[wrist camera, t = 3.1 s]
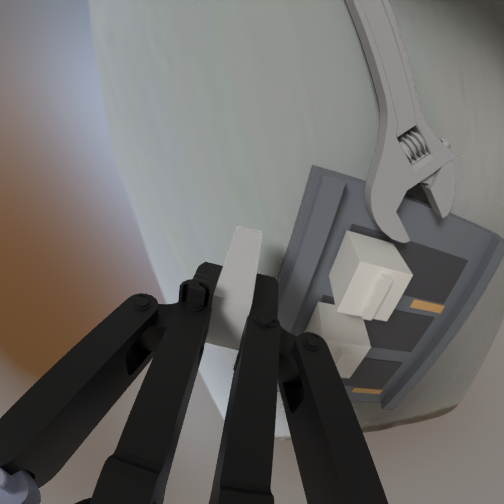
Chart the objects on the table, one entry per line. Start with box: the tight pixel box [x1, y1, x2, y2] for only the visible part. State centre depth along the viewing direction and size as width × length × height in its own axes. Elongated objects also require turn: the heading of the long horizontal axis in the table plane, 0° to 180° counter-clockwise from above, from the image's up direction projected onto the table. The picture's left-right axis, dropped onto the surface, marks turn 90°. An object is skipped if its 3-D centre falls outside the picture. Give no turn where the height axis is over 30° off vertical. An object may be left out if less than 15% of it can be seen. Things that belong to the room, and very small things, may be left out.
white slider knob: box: [305, 302, 371, 378], centre depth 20 cm, size 4×4×5 cm
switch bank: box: [277, 165, 504, 410], centre depth 23 cm, size 22×18×2 cm
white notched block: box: [329, 230, 413, 321], centre depth 18 cm, size 4×4×5 cm
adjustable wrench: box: [345, 0, 457, 243], centre depth 13 cm, size 25×6×2 cm, turn 11°
